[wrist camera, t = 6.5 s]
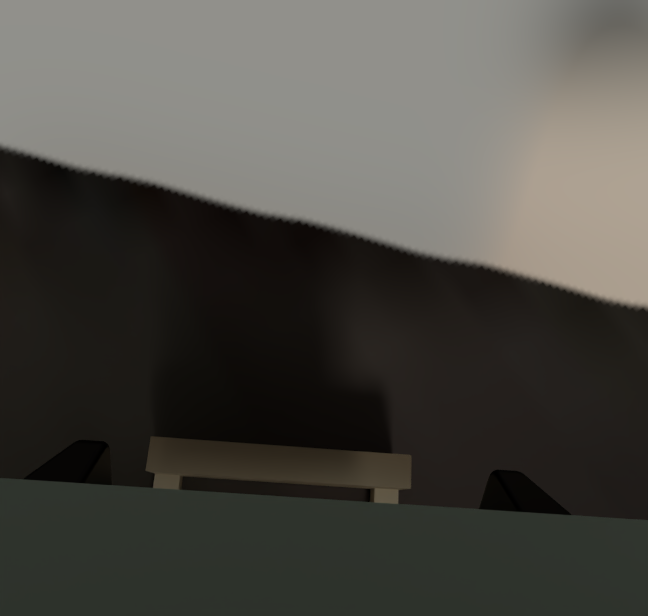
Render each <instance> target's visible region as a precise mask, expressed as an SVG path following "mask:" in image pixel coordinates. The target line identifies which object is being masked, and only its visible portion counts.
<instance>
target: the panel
mask: <svg viewBox="0 0 648 616" xmlns="http://www.w3.org/2000/svg"><path fill="white" fill-rule="evenodd" d="M0 616H648V520H636V519H620V518H605V517H590V516H574V515H559V514H544V513H529V512H513V511H498V510H483V509H467V508H452V507H437V506H421V505H406V504H391V503H375V502H360V501H345V500H330V499H314V498H299V497H284V496H268V495H253V494H238V493H222V492H207V491H192V490H176V489H161V488H146V487H130V486H115V485H100V484H85V483H69V482H54V481H39V480H23V479H8V478H0Z"/></svg>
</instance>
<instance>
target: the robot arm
mask: <svg viewBox="0 0 648 616" xmlns="http://www.w3.org/2000/svg"><path fill="white" fill-rule="evenodd" d="M23 480H39V481H54V482H69V483H85V484H100V485H112V481H111V462H110V448H109V446H108V444H107V443H106V442H104V441H91V440H78V441H76V442H74V443H73V444H71V445H70V446H68V447H67V448H66V449H64V450H63V451H61V452H60V453H59V454H57V455H56V456H54V457H53V458H52V459H50V460H49V461H48V462H46V463H45V464H43V465H42V466H41V467H39V468H38V469H36V470H35V471H34V472H32V473H31V474H29V475H28V476H27V477H25V478H24V479H23ZM479 509H483V510H498V511H513V512H529V513H544V514H559V515H571V514H570V513H569V512H568V511H567V510H566V509H564V508H563V507H562V506H561V505H560V504H558V503H557V502H556V501H555V500H554V499H553V498H551V497H550V496H549V495H548V494H547V493H545V492H544V491H543V490H542V489H541V488H540V487H538V486H537V485H536V484H535V483H534V482H533V481H531V480H530V479H529V478H528V477H527V476H525V475H524V474H523V473H521V472H518V471H510V470H495V471H493V472H492V473H491V474H490V476H489V479H488V482H487V485H486V488H485V491H484V494H483V498H482V501H481V504H480V507H479Z"/></svg>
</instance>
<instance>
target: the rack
mask: <svg viewBox="0 0 648 616" xmlns="http://www.w3.org/2000/svg"><path fill="white" fill-rule="evenodd" d="M146 471H148V472H152V473H155V478H154V484H153V488H161V489H176V490H181V489H182V481H183V476H186V477H201V478H216V479H231V480H245V481H260V482H275V483H290V484H305V485H320V486H335V487H350V488H365V489H370V502H375V503H391V504H398V490H402V489H411V455H403V454H389V453H375V452H361V451H347V450H333V449H319V448H306V447H292V446H278V445H264V444H250V443H236V442H223V441H209V440H195V439H181V438H167V437H153V436H151V439H150V445H149V452H148V458H147V465H146Z"/></svg>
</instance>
